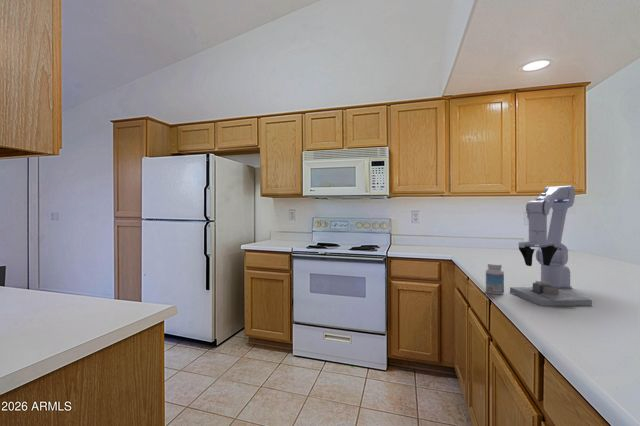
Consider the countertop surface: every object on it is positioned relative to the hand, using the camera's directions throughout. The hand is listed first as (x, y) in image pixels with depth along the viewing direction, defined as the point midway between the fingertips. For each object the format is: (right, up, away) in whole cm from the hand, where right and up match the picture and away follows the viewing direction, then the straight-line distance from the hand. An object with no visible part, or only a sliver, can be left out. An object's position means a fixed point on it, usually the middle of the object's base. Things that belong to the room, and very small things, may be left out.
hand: (537, 265), depth 115 cm
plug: (-4, -11, -8) cm, 14 cm away
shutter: (-5, -8, -15) cm, 18 cm away
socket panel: (-3, -10, -9) cm, 14 cm away
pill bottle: (-17, -11, -1) cm, 20 cm away
